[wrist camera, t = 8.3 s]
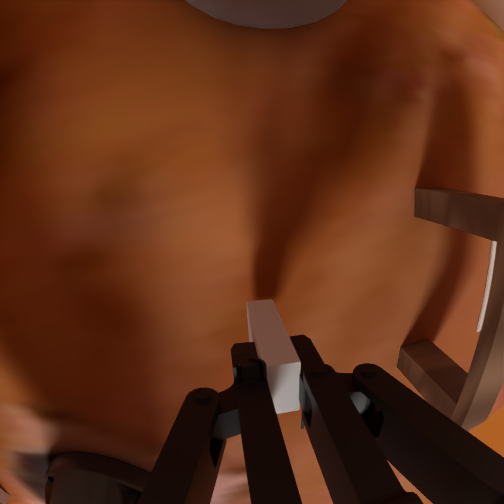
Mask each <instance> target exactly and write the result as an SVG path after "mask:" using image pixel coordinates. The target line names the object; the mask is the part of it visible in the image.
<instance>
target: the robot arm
mask: <svg viewBox="0 0 504 504" xmlns="http://www.w3.org/2000/svg"><path fill="white" fill-rule="evenodd" d="M246 304H247V318H248V331H249V342H246V343H236V344H234V345H233V347H232V348H231V356H232V365H233V374H234V383H233V385H232V386H231V387H230V388H228V389H227V390H225V391H222V392H219V393H217V391H215V390H213V389H211V388H198V389H194V390H193V391H191V392H189V394H188V395H187V396H186V398H185V400H184V402H183V405H182V407H181V409H180V411H179V413H178V416H177V418H176V420H175V422H174V424H173V426H172V429H171V431H170V433H169V435H168V437H167V439H166V442H165V444H164V446H163V448H162V450H161V453H160V455H159V457H158V459H157V461H156V463H155V466H154V468H153V470H152V472H151V474H149V473H147V472H145V471H143V470H141V469H138V468H136V467H134V466H131V465H129V464H126V463H123V462H120V461H117V460H114V459H111V458H107V457H103V456H99V455H94V454H88V453H79V452H69V453H63V454H59V455H57V456H55V457H54V458H53V459H52V460H51V462H50V465H49V467H48V470H47V472H46V475H45V501H46V504H210V501H211V498H212V494H213V490H214V487H215V483H216V479H217V476H218V472H219V468H220V464H221V460H222V457H223V453H224V449H225V445H226V439H227V438H230V437H233V436H235V435H238V434H241V437H242V445H243V452H244V459H245V465H246V472H247V479H248V485H249V492H250V498H251V504H302V501H301V498H300V494H299V491H298V488H297V484H296V481H295V477H294V474H293V470H292V467H291V464H290V460H289V457H288V453H287V450H286V446H285V443H284V439H283V435H282V432H281V428H280V425H279V421H278V418H277V414H278V413H284V412H291V411H297V410H299V403H300V404H301V407H302V420H301V429H304V425H305V427H306V430H307V433H308V436H309V438H310V441H311V444H312V447H313V449H314V452H315V455H316V458H317V460H318V463H319V466H320V469H321V471H322V474H323V477H324V479H325V482H326V485H327V488H328V490H329V493H330V496H331V498H332V501H333V504H423V503H422V501H421V499H420V498H419V497H418V495H417V494H415V493H414V492H406V491H405V490H404V489H403V488H402V486H401V484H400V482H399V481H398V479H397V477H396V475H395V474H394V472H393V470H392V468H391V467H390V465H389V463H388V461H389V462H390V463H391V464H392V465H393V466H394V467H395V468H396V469H397V470H398V471H399V472H400V473H401V474H402V475H403V476H404V477H405V478H406V479H407V480H408V481H409V482H411V483H412V484H413V485H414V486H415V487H416V488H417V489H418V490H419V491H420V492H421V493H422V494H423V495H424V496H425V497H426V498H428V499H429V500H430V501H431V502H432V503H433V504H504V457H502V456H501V455H499V454H498V453H496V452H495V451H494V450H492V449H491V448H490V447H488V446H487V445H485V444H484V443H482V442H481V441H480V440H479V439H477V438H476V437H474V436H473V435H472V434H470V433H469V432H467V431H466V430H465V429H463V428H462V427H461V426H459V425H458V424H456V423H455V422H454V421H452V420H451V419H450V418H448V417H447V416H445V415H444V414H443V413H441V412H440V411H439V410H437V409H436V408H435V407H433V406H432V405H430V404H429V403H428V402H426V401H425V400H424V399H422V398H421V397H420V396H418V395H417V394H416V393H414V392H413V391H412V390H410V389H409V388H407V387H406V386H405V385H403V384H402V383H401V382H399V381H398V380H397V379H395V378H394V377H393V376H391V375H390V374H389V373H387V372H386V371H385V370H383V369H382V368H381V367H379V366H377V365H375V364H370V363H364V364H360V365H358V366H356V367H355V368H354V370H353V373H337V372H335V370H334V369H333V368H332V367H331V366H329V365H327V364H324V362H323V360H322V359H321V357H320V355H319V353H318V352H317V350H316V348H315V346H314V345H313V343H312V341H311V339H310V338H308V337H306V336H305V335H298V336H290V337H289V335H288V333H287V331H286V328H285V326H284V324H283V322H282V320H281V318H280V315H279V313H278V311H277V309H276V307H275V304H274V302H273V300H272V299H268V300H258V301H248V302H246ZM386 459H387V460H388V461H387V460H386ZM0 504H1V503H0Z"/></svg>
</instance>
